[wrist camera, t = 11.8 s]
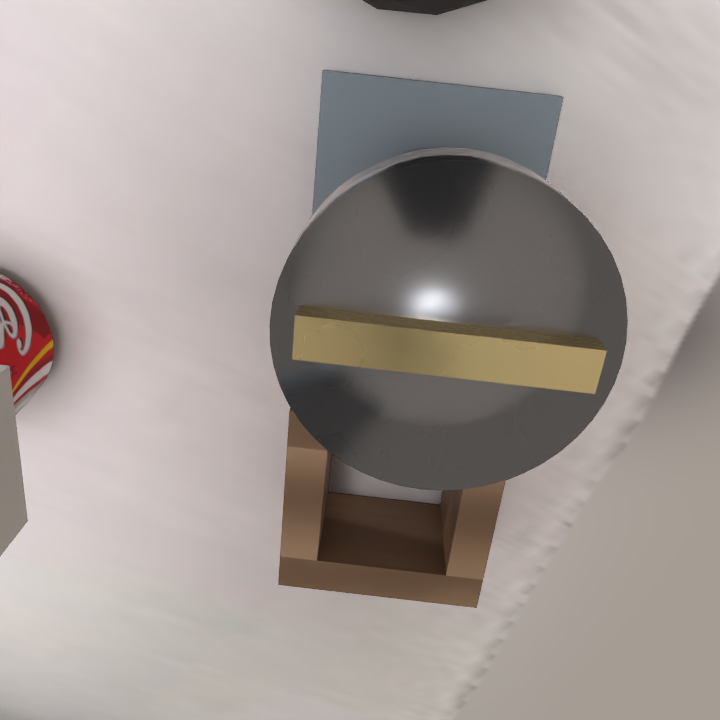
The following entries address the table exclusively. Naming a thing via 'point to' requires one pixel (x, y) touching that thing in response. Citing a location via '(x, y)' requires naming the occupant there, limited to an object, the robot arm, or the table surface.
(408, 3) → the portable speaker
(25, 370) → the soda can
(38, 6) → the table surface
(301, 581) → the socket block
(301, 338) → the peg
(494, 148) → the mat
